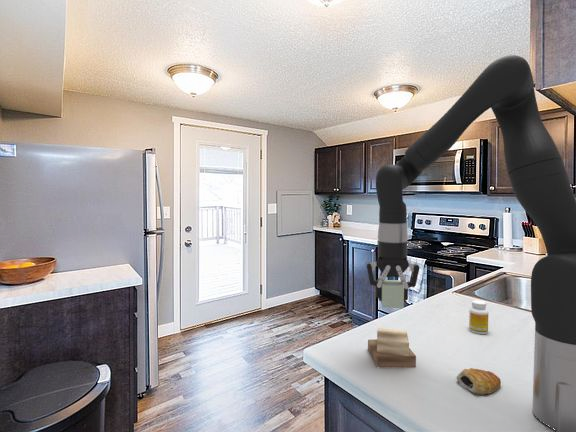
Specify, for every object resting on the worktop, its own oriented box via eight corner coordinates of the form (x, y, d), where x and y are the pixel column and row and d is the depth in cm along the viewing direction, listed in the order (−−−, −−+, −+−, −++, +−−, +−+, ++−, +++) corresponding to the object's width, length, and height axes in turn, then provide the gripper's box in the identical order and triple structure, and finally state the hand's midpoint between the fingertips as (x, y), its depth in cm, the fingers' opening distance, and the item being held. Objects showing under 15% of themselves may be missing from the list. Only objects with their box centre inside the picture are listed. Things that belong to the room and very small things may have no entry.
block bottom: (415, 369, 84) (416, 356, 84) (377, 369, 84) (377, 356, 84) (402, 350, 94) (402, 339, 94) (367, 351, 94) (367, 339, 94)
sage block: (403, 308, 85) (404, 286, 85) (382, 307, 86) (382, 285, 86) (400, 301, 91) (401, 280, 90) (380, 300, 92) (380, 279, 91)
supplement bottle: (490, 335, 103) (491, 305, 102) (472, 333, 104) (473, 304, 103) (484, 328, 108) (484, 299, 107) (466, 327, 109) (467, 299, 108)
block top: (408, 356, 84) (409, 343, 84) (376, 352, 86) (377, 339, 86) (406, 342, 91) (406, 330, 91) (377, 339, 94) (377, 327, 93)
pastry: (484, 375, 80) (484, 360, 80) (509, 391, 74) (510, 375, 74) (453, 382, 78) (454, 366, 77) (477, 399, 71) (478, 382, 71)
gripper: (365, 240, 85) (365, 303, 86) (423, 241, 82) (422, 307, 83) (364, 237, 92) (364, 295, 93) (417, 238, 89) (417, 298, 90)
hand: (391, 300), depth 88 cm, fingers closed on sage block, 5 cm apart
